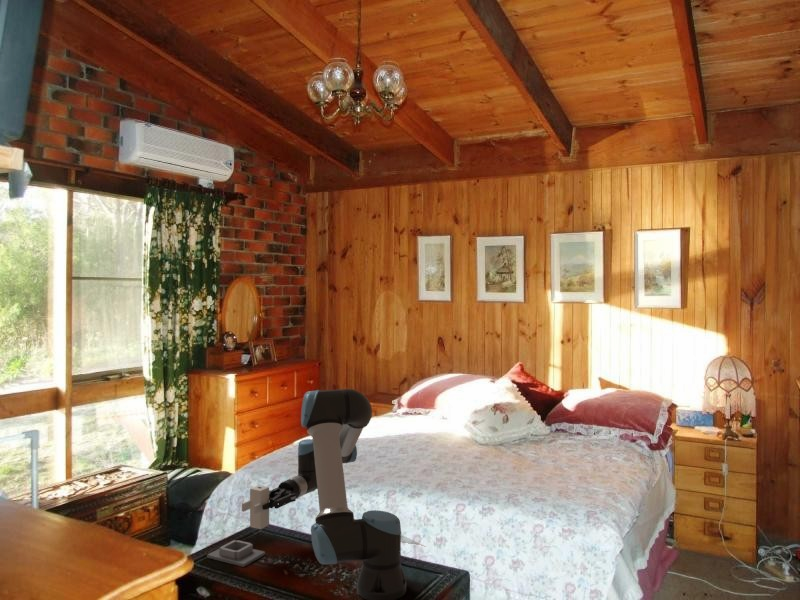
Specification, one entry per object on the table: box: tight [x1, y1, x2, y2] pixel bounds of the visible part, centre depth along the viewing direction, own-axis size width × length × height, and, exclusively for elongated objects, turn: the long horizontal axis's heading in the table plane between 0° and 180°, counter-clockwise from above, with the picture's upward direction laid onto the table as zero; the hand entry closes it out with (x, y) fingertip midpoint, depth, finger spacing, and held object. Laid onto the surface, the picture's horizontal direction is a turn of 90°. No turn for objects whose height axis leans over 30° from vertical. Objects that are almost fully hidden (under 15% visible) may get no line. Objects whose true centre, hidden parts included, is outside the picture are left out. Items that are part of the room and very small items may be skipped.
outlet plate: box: [206, 539, 266, 568], centre depth 218 cm, size 16×11×4 cm
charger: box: [249, 484, 270, 530], centre depth 217 cm, size 4×4×13 cm
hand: (248, 508), depth 212 cm, fingers closed on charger, 4 cm apart
